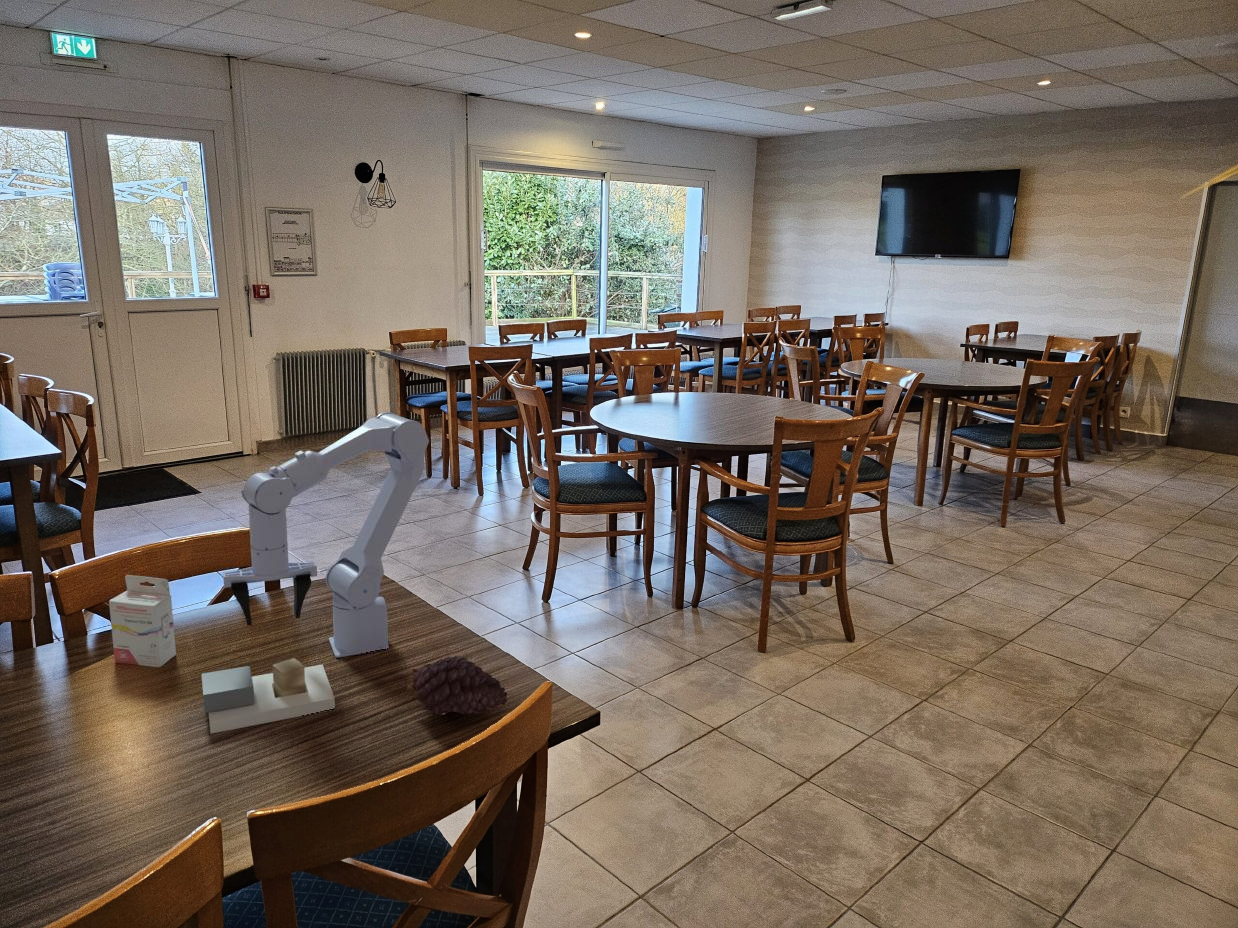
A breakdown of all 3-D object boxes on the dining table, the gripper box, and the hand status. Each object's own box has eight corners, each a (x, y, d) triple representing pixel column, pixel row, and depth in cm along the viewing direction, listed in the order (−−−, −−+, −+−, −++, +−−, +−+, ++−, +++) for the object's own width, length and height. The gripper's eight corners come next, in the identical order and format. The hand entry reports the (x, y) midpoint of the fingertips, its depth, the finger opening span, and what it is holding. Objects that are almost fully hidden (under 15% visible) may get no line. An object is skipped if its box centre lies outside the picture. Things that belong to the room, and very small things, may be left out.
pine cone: (518, 712, 137) (519, 656, 134) (488, 744, 128) (489, 685, 125) (424, 689, 142) (423, 635, 140) (389, 718, 133) (388, 660, 131)
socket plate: (322, 674, 145) (322, 664, 144) (334, 709, 135) (334, 698, 134) (207, 695, 137) (206, 684, 136) (210, 733, 126) (209, 721, 126)
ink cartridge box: (113, 663, 145) (104, 584, 141) (132, 650, 150) (124, 573, 146) (160, 668, 144) (152, 588, 141) (177, 654, 149) (171, 577, 145)
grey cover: (250, 682, 137) (249, 665, 136) (254, 703, 131) (253, 685, 130) (202, 690, 134) (201, 673, 133) (204, 712, 128) (203, 694, 127)
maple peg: (295, 690, 140) (294, 657, 138) (305, 699, 137) (304, 665, 136) (274, 697, 137) (272, 664, 136) (284, 706, 135) (282, 673, 133)
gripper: (311, 532, 147) (314, 604, 150) (220, 541, 140) (225, 616, 144) (317, 545, 141) (320, 619, 144) (222, 555, 134) (228, 633, 138)
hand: (273, 619), depth 144 cm, fingers open, 7 cm apart
